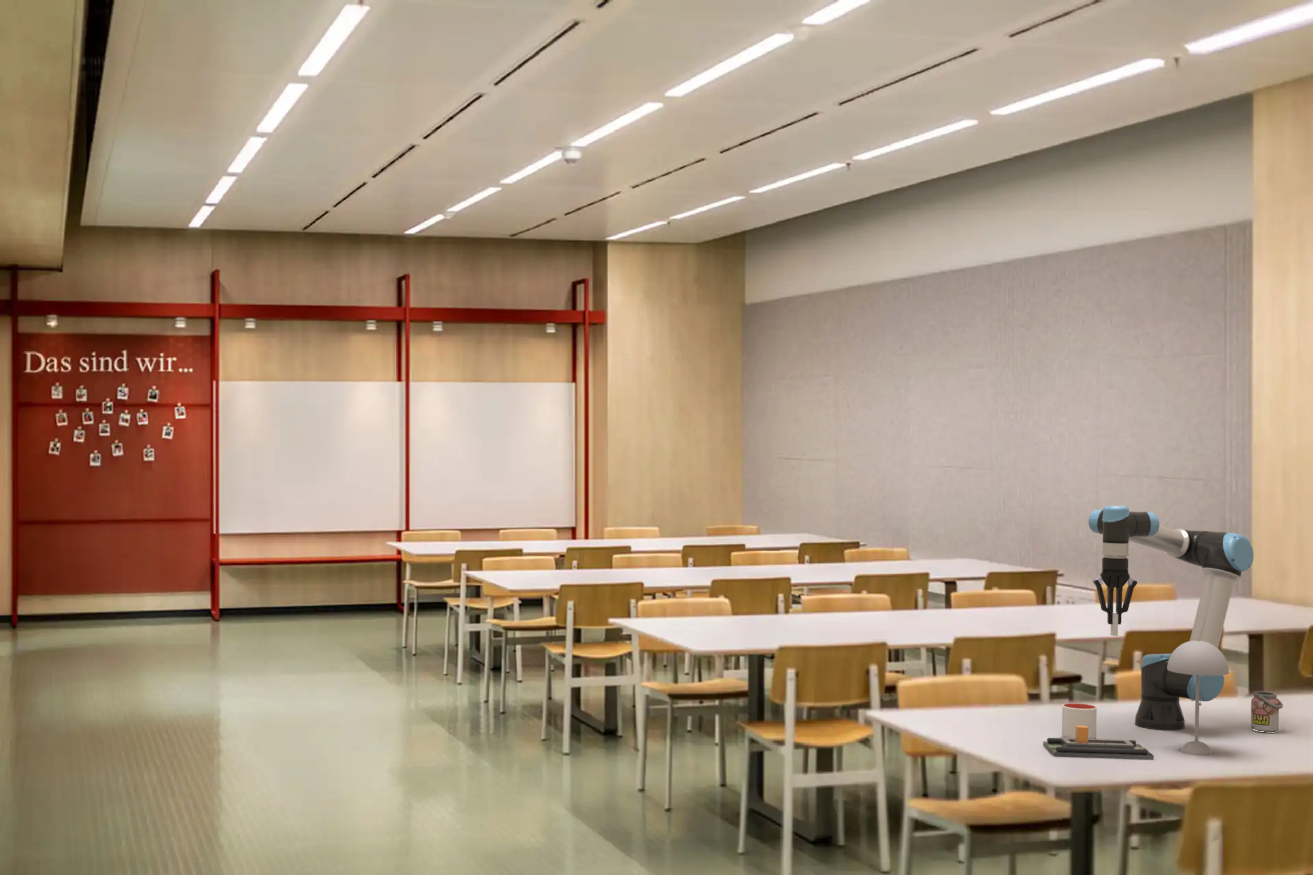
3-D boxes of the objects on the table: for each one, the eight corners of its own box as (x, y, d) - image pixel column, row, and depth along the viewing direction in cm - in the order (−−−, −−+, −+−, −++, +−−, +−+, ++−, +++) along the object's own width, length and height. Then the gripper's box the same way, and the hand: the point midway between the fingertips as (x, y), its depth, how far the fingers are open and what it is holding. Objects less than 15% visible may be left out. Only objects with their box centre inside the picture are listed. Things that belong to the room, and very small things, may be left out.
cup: (1078, 743, 448) (1078, 710, 448) (1054, 737, 457) (1055, 704, 457) (1103, 740, 453) (1103, 707, 453) (1079, 734, 462) (1080, 702, 462)
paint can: (1286, 731, 473) (1286, 693, 473) (1276, 735, 466) (1276, 696, 466) (1256, 727, 479) (1257, 690, 479) (1246, 731, 473) (1247, 693, 473)
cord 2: (1146, 753, 428) (1146, 748, 428) (1147, 754, 427) (1147, 749, 427) (1055, 751, 430) (1055, 746, 430) (1056, 752, 429) (1056, 747, 429)
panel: (1139, 748, 442) (1139, 737, 442) (1153, 759, 426) (1153, 748, 426) (1043, 745, 444) (1043, 734, 444) (1053, 756, 428) (1054, 745, 428)
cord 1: (1134, 744, 441) (1134, 740, 441) (1136, 745, 440) (1136, 740, 440) (1046, 742, 443) (1046, 737, 443) (1047, 743, 442) (1047, 738, 442)
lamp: (1220, 760, 427) (1222, 644, 427) (1159, 752, 436) (1161, 639, 436) (1232, 750, 442) (1234, 638, 442) (1173, 743, 451) (1175, 633, 451)
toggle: (1087, 746, 437) (1087, 725, 437) (1089, 748, 433) (1090, 727, 433) (1073, 746, 437) (1073, 725, 437) (1075, 748, 434) (1076, 727, 434)
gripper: (1134, 556, 454) (1133, 634, 454) (1090, 555, 455) (1089, 633, 454) (1140, 558, 446) (1139, 637, 446) (1096, 557, 447) (1095, 636, 447)
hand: (1114, 635), depth 450 cm, fingers closed
